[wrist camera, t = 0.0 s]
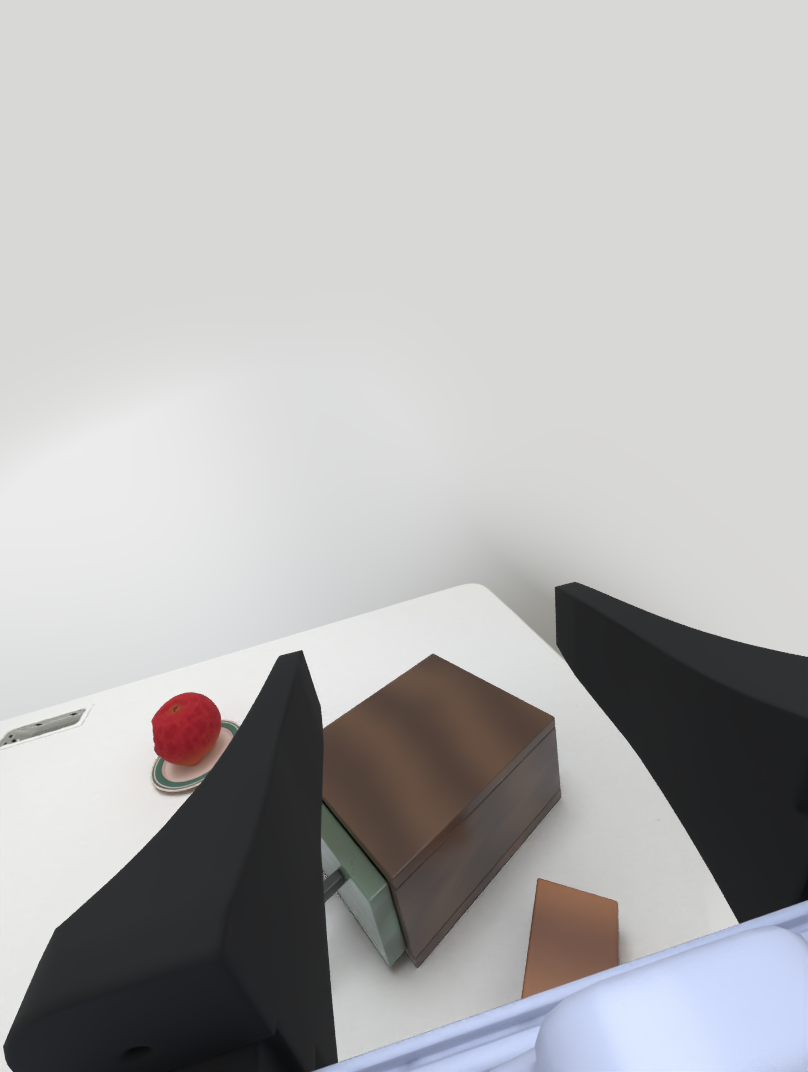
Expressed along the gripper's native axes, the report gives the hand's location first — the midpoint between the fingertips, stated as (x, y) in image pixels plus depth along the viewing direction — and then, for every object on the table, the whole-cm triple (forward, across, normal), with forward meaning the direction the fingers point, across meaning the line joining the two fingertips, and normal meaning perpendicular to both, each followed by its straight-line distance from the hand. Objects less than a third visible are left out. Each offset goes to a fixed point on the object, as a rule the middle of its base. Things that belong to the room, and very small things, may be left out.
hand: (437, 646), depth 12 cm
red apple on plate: (+23, +20, +24) cm, 39 cm away
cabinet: (+11, 0, +23) cm, 26 cm away
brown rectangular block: (0, -4, +22) cm, 23 cm away
